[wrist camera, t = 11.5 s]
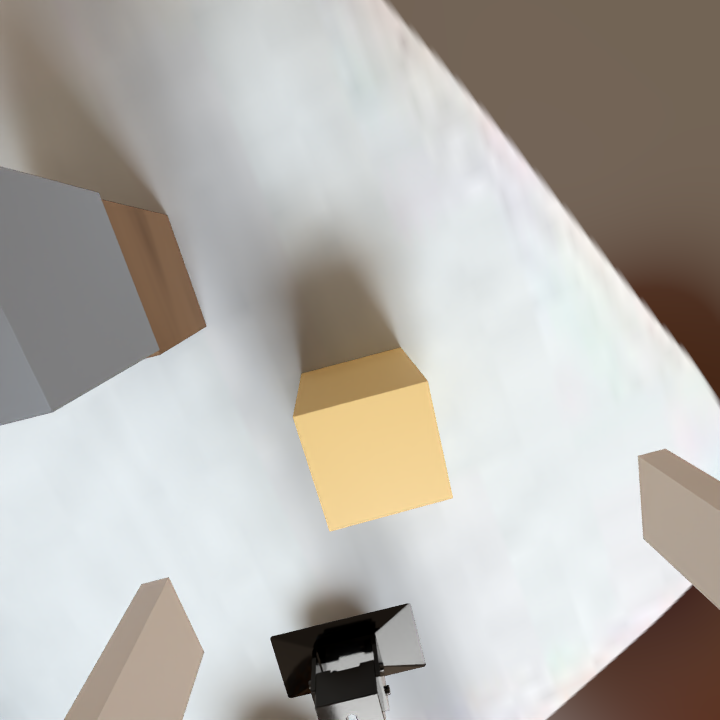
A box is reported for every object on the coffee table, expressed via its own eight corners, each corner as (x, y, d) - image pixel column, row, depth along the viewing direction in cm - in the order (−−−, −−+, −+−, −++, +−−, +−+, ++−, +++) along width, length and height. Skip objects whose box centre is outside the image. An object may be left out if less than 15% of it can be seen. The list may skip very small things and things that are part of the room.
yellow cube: (328, 461, 23) (329, 531, 17) (301, 373, 22) (292, 417, 16) (421, 437, 23) (452, 498, 17) (400, 347, 22) (427, 381, 16)
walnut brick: (101, 352, 20) (13, 392, 15) (53, 243, 19) (-66, 239, 13) (206, 326, 21) (159, 354, 15) (167, 215, 19) (99, 198, 13)
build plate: (271, 702, 28) (260, 786, 24) (242, 621, 26) (224, 696, 22) (444, 661, 28) (466, 737, 24) (428, 578, 26) (448, 643, 22)
